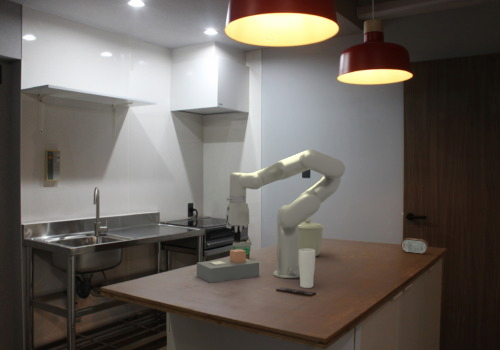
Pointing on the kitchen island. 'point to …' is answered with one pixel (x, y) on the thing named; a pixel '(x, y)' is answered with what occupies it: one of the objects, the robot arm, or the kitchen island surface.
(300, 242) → the canister
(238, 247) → the food container
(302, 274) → the drinking glass
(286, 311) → the kitchen island surface
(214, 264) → the cream cube block
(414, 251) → the tin
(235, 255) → the terracotta brown block
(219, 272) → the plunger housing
